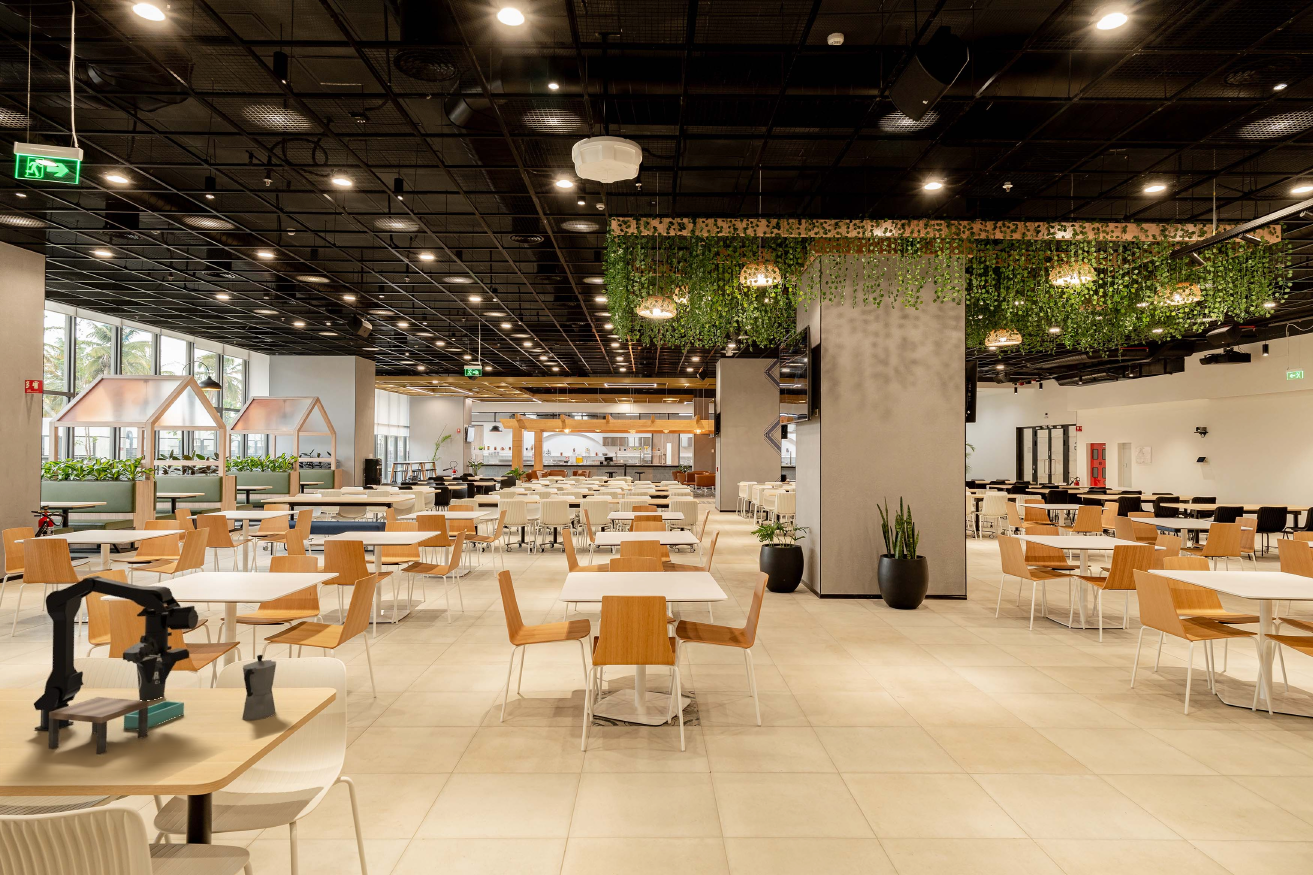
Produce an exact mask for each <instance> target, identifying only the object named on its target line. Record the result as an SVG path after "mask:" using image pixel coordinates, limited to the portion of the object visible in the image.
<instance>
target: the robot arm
mask: <svg viewBox="0 0 1313 875" xmlns="http://www.w3.org/2000/svg"><path fill="white" fill-rule="evenodd" d="M92 593H98V594H102V595H107V596H111V597H115V598H120V599H125V600H129V601H131V602H134V604H136V605H138V606H140V607H143V608H142V610H141V611H140V612H138V613H137V614H136V617H139V618H141V617H144V620H145V621H144V634H143V635H140V638H139V642H137V643H134V644H133V645H131V646H130V647H129V648H127V649H125V650H124V651H123V653H122V660H123V661H127V663H128V662H129V663H130V662H132V663H133V664H136V666H137V665H139V666H140V667H141V669H142V671H143V674H144V676H145V679H146V681H147V683H148V684H149V683H151V682H152V679H153V676H154V671H155V667H156V665H157V666H158V667H159V682H160V684H164V683H165V681H166V682H167V678H168V677H169V675H170V673H171V672H172V670H173V668H174V667H175V665H176V663H177V662H180V661H185V660H186V659H190V650H189V649H188V648H181V647H180V648H178V647H177V648H174V649H172V645H169V637H171V636H173V632H172V631H179V630H180V631H181V630H194V629H195V628H196V627H197V626H198V623H199V622H198V621H199V615H198V612H197V610H196V607H195V605H188V606H181V604H180V603H179V602H178V601H177V599H175V597H174V596H173V593H172V591H171V588H169V587H166V586H160V585H159V586H157V585H152V586H151V585H150V586H149V585H142V586H141V585H137V584H131V583H129V582H128V583H127V582H124V581H118V580H113V579H109V578H105V577H101V576H100V575H92V576H89V577H84V578H83V579H82V580H80V581H79V582H76V583H75V584H72V585H70V586H67V587H65V588H62V589H57V590H54V591H52V592H50V593H49V594H47V596H46V597H45V608H46V612H47V614H48V615H49V617H50V619H51V620H52V663H51V664H52V670H51V672H50V675H49V676H48V678H47V680H46V683H45V687H44V692H43V694H42V695H41V696H39V698H38V699H37V700H35V701H34V703H33V707H34V710H35V711H40V725H39V726H35V727H34V730H37V731H38V730H39V731H48V732H49V712H51V711H55V710H58V709H61V708H64V707H67V706H70V704H69V702H71V701H74V699H75V697H76V695H77V694H78V693H79V692H80V691H81V687H82V686H83V685H84V682H83V677H84V676H83V675H84V672H83V671H82V670H81V671H77V669H76V668H75V618H76V616H77V614H78V612H79V610H80V609H81V604H82V601H83V600H82V599H83V598H85V597H87V596H89V595H91V594H92ZM169 629H170V630H172V631H169ZM167 650H168V651H167ZM159 654H160V655H159ZM157 658H161V661H160V662H157ZM156 662H157V663H156ZM165 684H166V683H165ZM74 722H75V721H73V720H62V719H59V729H61V728H64V727H66V726H67V727H68V726H70V725H73V724H75V723H74Z"/></svg>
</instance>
